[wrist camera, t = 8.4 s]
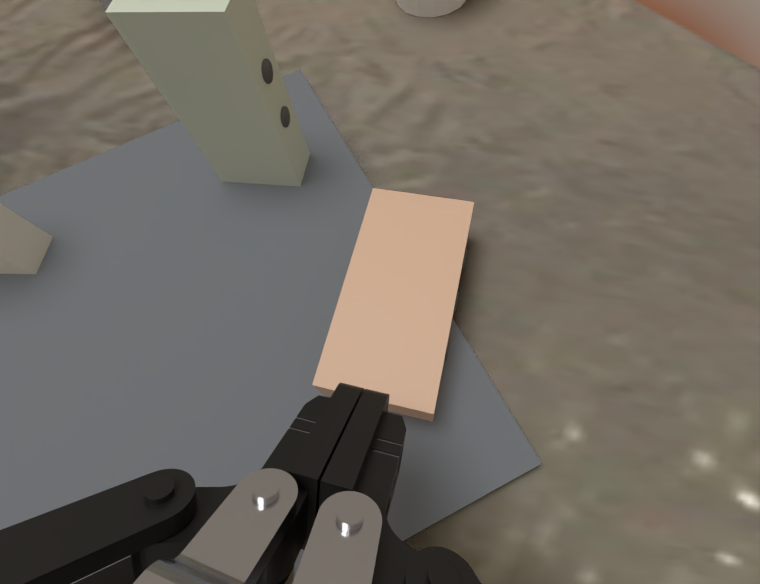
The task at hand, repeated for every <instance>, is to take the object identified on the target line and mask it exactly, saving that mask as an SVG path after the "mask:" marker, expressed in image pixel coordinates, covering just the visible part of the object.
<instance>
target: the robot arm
mask: <svg viewBox="0 0 760 584" xmlns="http://www.w3.org/2000/svg"><path fill="white" fill-rule="evenodd" d="M388 405H389V394H386V393H382V392H378V391H374V390H369V389H365V390H364V388H361V387H357V386H353V385H349V384H345V383H339V384H338V386H337V387H336V389H335V391H334V393H333V394H332V396H331V398H328V397H324V396H320V395H318V396H317V397H315V398H314V399H312V400H310V401H309V402H307V403H306V404H305V405H304V406H303V408H302V409H301V411H300V412H299V414H298V415H297V418H296V419H295V420H294V421H293V423H292V424H291V426H290V428H289V429H288V430H287V431H286V433H285V434H284V436H283V437H282V439H281V440H280V442H279V443H278V445H277V446H276V448H275V449H274V451H273V452H272V454H271V455H270V457H269V458H268V460H267V461H266V463H265V464H264V466H263V467H262V468H261V469H260V470H257V471H255V472H252V473H250V474H249V475H247V476H246V477H244V478H243V479H242V480H241V481H240V482H239V483H238V484H236V485H232V486H225V487H196V486H195V481H194V479H193V477H192V476H191V475H190V474H189V473H187V472H186V471H183V470H180V469H163V470H158V471H155V472H152V473H149V474H147V475H144V476H141V477H139V478H136V479H134V480H131V481H128V482H126V483H123V484H120V485H118V486H115V487H112V488H110V489H107V490H105V491H102V492H99V493H97V494H94V495H91V496H89V497H86V498H83V499H81V500H78V501H76V502H73V503H70V504H68V505H65V506H62V507H60V508H57V509H54V510H52V511H49V512H47V513H44V514H41V515H39V516H36V517H33V518H31V519H28V520H25V521H23V522H20V523H18V524H15V525H12V526H10V527H7V528H4V529H2V530H0V584H71V583H73V582H75V581H77V580H79V581H77V582H75V583H73V584H292V582H293V584H481V583H480V581H479V580H478V578H477V576H476V575H475V573H474V572H473V570H472V569H471V567H470V566H469V564H468V563H467V562H466V561H465V560H464V559H463V558H462V557H460V556H459V555H458V554H456V553H455V552H453V551H451V550H448V549H446V548H442V547H428V548H424V549H422V550H420V551H418V552H417V551H416V550H414V549H413V548H411V547H410V546H409V545H407V544H406V543H404V542H403V541H402V540H401V539H399V538H398V537H397V535H396V534H395V533H394V532H393V530H392V529H391V527H390V525H389V523H388V520H387V517H388V514H389V510H390V506H391V502H392V498H393V494H394V490H395V486H396V482H397V479H398V475H399V471H400V465H401V459H402V453H403V447H404V441H405V436H406V427H405V423H404V420H403V416H400V415H396V414H392V413H388ZM301 549H303V550H304V553H303V556H302V559H301V562H300V564H299V567H298V570H297V573H296V576H295V579H294V581H293V578H294V566H295V561H296V559H297V557H298V555H299V552H300V550H301ZM128 556H130V557H128ZM126 557H127V558H126ZM124 558H125V559H124ZM122 559H123V560H122ZM120 560H121V561H120ZM117 561H119V562H117ZM115 562H117V563H115ZM113 563H115V564H113ZM111 564H113V565H111ZM109 565H111V566H109ZM107 566H109V567H107ZM105 567H107V568H105ZM103 568H104V569H103ZM101 569H102V570H101ZM99 570H100V571H99ZM96 571H98V572H96ZM94 572H96V573H94ZM92 573H94V574H92ZM90 574H92V575H90ZM88 575H90V576H88ZM86 576H88V577H86ZM84 577H86V578H84ZM82 578H83V579H82ZM80 579H81V580H80Z"/></svg>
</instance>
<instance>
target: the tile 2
mask: <svg viewBox="0 0 760 584" xmlns="http://www.w3.org/2000/svg"><path fill="white" fill-rule="evenodd" d="M105 14H106V15H107V16H108V18H109V19H110V21H111V22H112V24H113V25H114V26H115V28H116V29H117V31H118V32H119V34H120V35H121V37H122V38H123V39H124V41H125V42H126V44H127V45H128V47H129V48H130V49H131V51H132V52H133V54H134V55H135V57H136V58H137V60H138V61H139V62H140V64H141V65H142V67H143V68H144V70H145V71H146V73H147V74H148V75H149V77H150V78H151V80H152V81H153V83H154V84H155V85H156V87H157V88H158V90H159V91H160V93H161V94H162V96H163V97H164V98H165V100H166V101H167V103H168V104H169V106H170V107H171V108H172V110H173V111H174V113H175V114H176V116H177V117H178V119H179V120H180V121H181V123H182V124H183V126H184V127H185V129H186V130H187V132H188V133H189V134H190V136H191V137H192V139H193V140H194V142H195V143H196V144H197V146H198V147H199V149H200V150H201V152H202V153H203V155H204V156H205V157H206V159H207V160H208V162H209V163H210V165H211V166H212V167H213V169H214V170H215V172H216V173H217V175H218V176H219V178H220V179H221V180H222V182H237V183H252V184H268V185H283V186H299V187H301V183H302V180H303V176H304V173H305V169H306V166H307V162H308V159H309V155H310V152H309V150H308V147H307V144H306V141H305V138H304V136H303V133H302V130H301V127H300V125H299V122H298V119H297V116H296V114H295V111H294V108H293V105H292V102H291V100H290V97H289V94H288V91H287V89H286V86H285V83H284V80H283V77H282V75H281V72H280V69H279V66H278V64H277V61H276V58H275V55H274V53H273V50H272V47H271V44H270V41H269V39H268V36H267V33H266V30H265V28H264V25H263V22H262V19H261V17H260V14H259V11H258V8H257V5H256V3H255V0H112V2H111V3H110V5H109V6H108V8H107V10H106V11H105Z"/></svg>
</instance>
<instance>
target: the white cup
mask: <svg viewBox="0 0 760 584" xmlns="http://www.w3.org/2000/svg"><path fill="white" fill-rule="evenodd" d="M465 1H466V0H396V2H397V5H398V6H399V7H400V8H401V9H402V10H403V11H405V12H406V13H408V14H411V15H414V16H417V17H437V16H442V15H446V14H449V13H451V12H453V11H455V10H457V9H458V8H460V7H461V6H462V5H463V4H464V3H465Z"/></svg>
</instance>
